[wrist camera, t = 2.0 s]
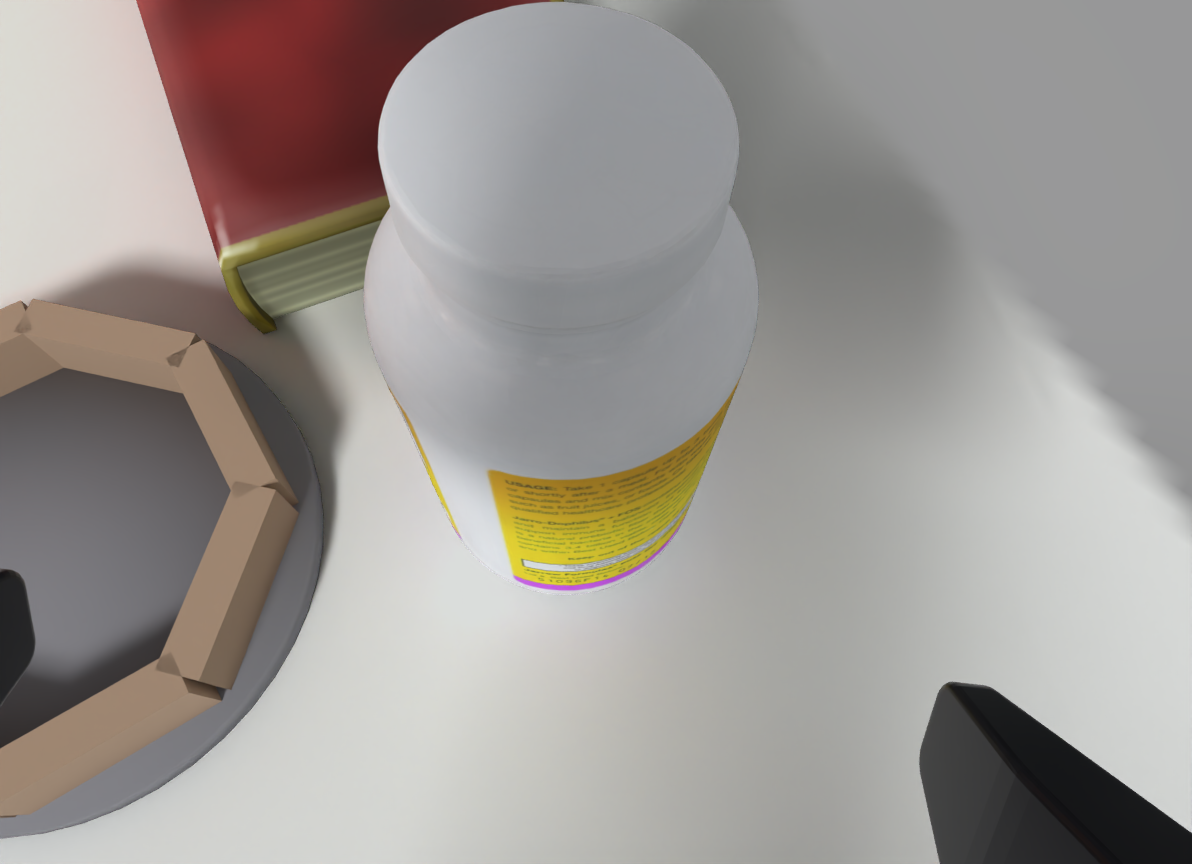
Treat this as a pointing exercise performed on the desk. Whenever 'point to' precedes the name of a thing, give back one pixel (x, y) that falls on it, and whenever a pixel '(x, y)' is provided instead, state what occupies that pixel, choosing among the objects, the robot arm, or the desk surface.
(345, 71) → the hardcover book
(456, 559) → the desk surface
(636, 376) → the supplement bottle
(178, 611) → the coaster ring
